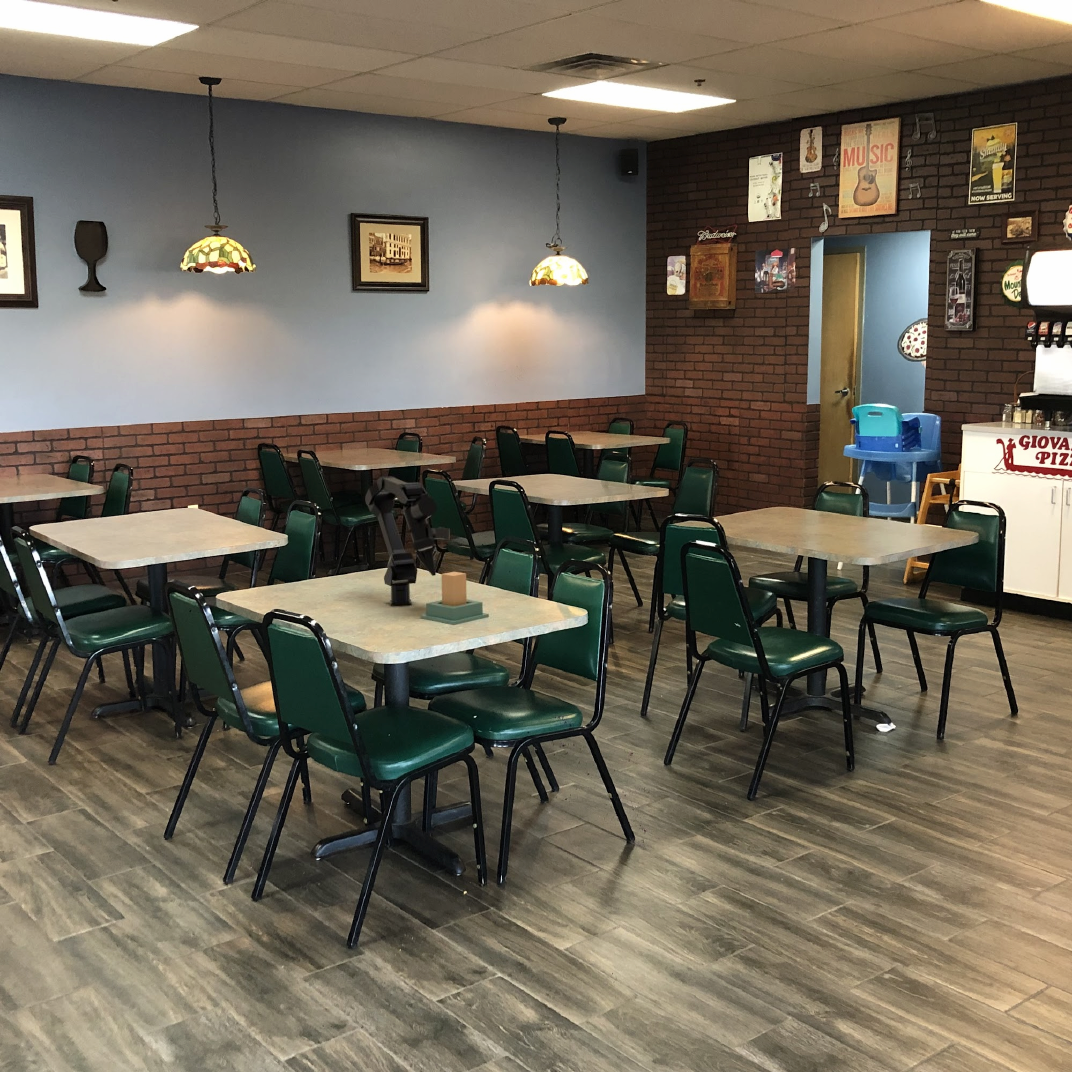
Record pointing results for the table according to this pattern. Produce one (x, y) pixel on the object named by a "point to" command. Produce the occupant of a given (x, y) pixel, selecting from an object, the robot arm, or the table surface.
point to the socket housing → (454, 612)
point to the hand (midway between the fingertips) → (433, 574)
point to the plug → (454, 589)
